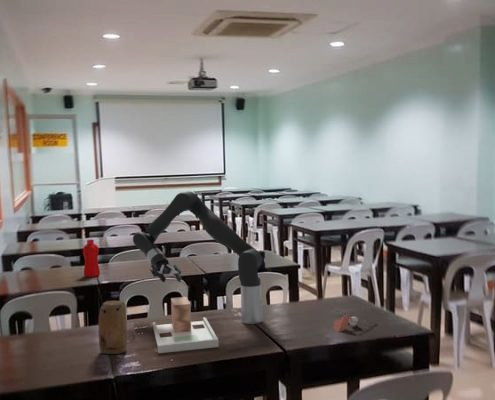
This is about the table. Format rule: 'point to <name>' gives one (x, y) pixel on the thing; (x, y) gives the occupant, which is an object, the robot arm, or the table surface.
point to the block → (112, 327)
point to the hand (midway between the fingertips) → (172, 280)
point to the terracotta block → (181, 314)
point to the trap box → (185, 338)
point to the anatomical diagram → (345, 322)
